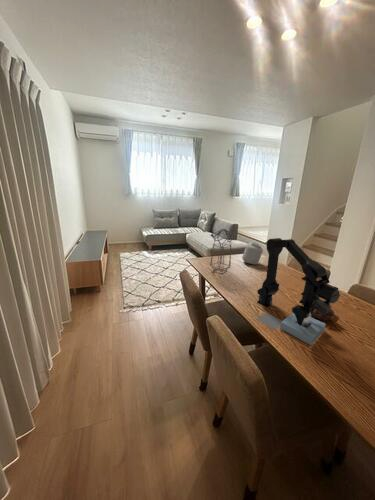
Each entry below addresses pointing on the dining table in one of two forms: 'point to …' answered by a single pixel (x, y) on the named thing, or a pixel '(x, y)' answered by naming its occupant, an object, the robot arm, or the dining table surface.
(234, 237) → the geometric lantern
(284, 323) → the blue peg hole block
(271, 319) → the rubber mat
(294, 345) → the dining table surface
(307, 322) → the steel pin
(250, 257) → the jar
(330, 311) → the decorative turtle
